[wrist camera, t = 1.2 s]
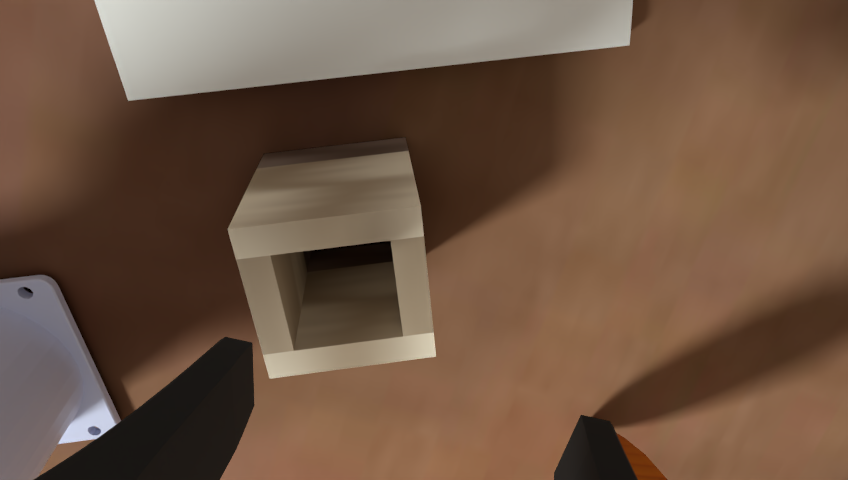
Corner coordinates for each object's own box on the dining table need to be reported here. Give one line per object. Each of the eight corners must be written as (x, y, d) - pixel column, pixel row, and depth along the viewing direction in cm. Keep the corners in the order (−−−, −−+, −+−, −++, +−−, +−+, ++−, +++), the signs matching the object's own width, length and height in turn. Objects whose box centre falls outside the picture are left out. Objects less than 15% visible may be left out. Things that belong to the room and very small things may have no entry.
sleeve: (292, 275, 22) (269, 378, 17) (263, 153, 20) (227, 229, 14) (418, 259, 22) (435, 356, 17) (405, 137, 20) (420, 205, 15)
